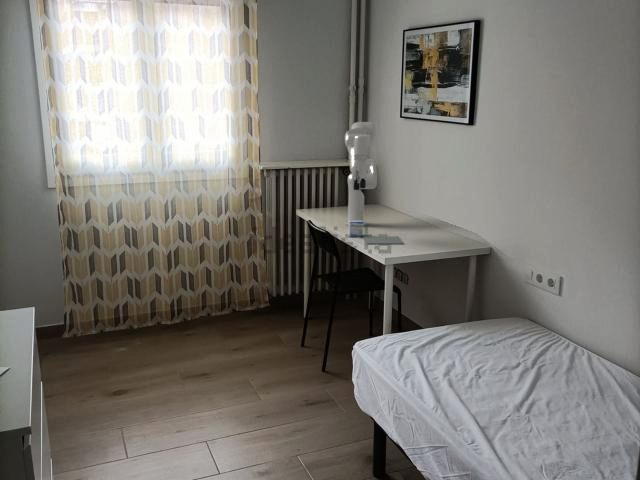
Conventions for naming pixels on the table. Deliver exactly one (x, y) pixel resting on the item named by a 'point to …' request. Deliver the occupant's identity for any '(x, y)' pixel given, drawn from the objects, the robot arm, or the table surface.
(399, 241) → the rubber mat
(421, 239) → the table surface
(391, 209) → the table surface
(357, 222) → the medicine box
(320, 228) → the table surface
